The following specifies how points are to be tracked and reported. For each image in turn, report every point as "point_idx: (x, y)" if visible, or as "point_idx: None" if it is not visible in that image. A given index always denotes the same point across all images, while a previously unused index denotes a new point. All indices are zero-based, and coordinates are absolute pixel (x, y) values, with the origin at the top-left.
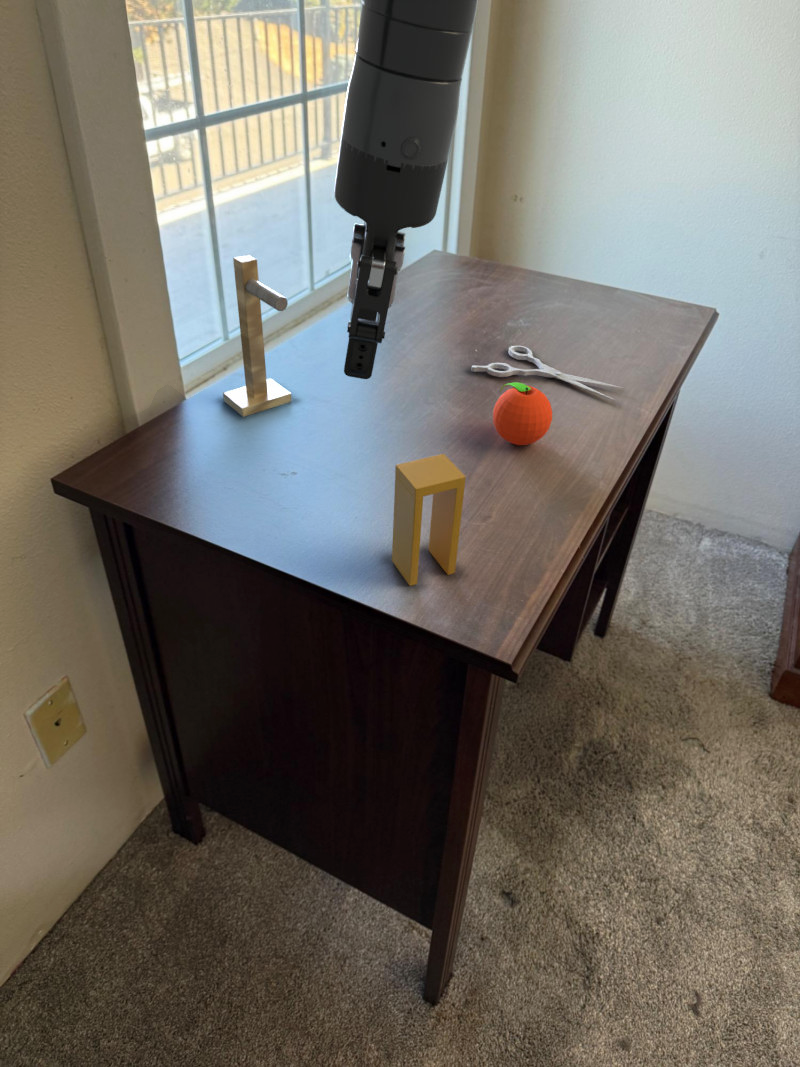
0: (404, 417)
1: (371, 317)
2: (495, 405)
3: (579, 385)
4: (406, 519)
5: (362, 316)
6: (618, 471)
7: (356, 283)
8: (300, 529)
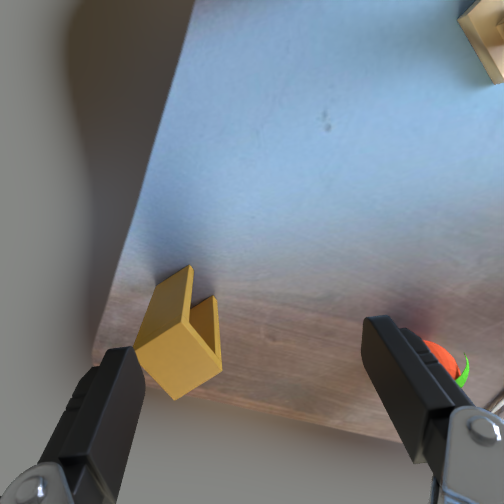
0: (450, 237)
1: (372, 370)
2: (434, 352)
3: (502, 401)
4: (156, 312)
5: (372, 352)
6: (357, 432)
7: (426, 410)
8: (221, 160)
